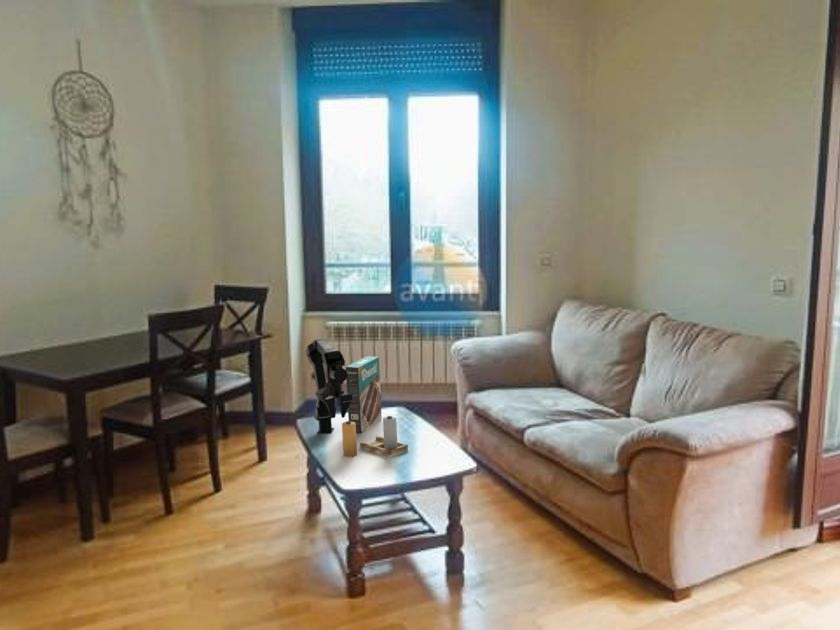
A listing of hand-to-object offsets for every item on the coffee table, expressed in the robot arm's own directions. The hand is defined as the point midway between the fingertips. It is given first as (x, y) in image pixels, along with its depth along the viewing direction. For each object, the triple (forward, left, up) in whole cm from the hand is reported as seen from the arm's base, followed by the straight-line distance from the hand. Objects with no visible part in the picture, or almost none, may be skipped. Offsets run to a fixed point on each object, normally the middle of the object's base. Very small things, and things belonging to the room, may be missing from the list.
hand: (337, 416), depth 286 cm
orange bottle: (+12, +7, -12) cm, 19 cm away
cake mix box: (-25, +7, -13) cm, 29 cm away
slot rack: (+6, +20, -12) cm, 24 cm away
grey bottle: (+9, +23, -11) cm, 27 cm away
